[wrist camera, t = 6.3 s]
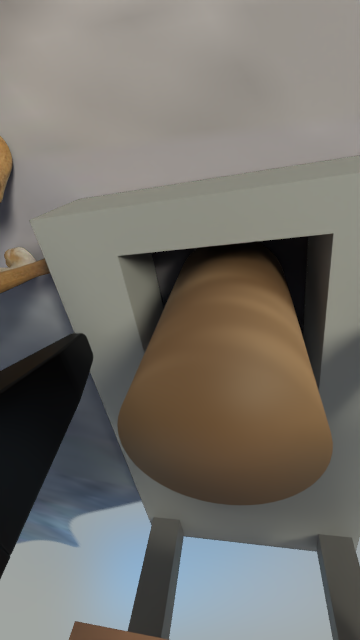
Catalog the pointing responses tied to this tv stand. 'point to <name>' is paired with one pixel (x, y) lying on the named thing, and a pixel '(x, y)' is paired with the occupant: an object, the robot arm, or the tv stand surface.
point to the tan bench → (162, 572)
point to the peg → (227, 386)
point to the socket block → (146, 309)
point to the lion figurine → (17, 258)
